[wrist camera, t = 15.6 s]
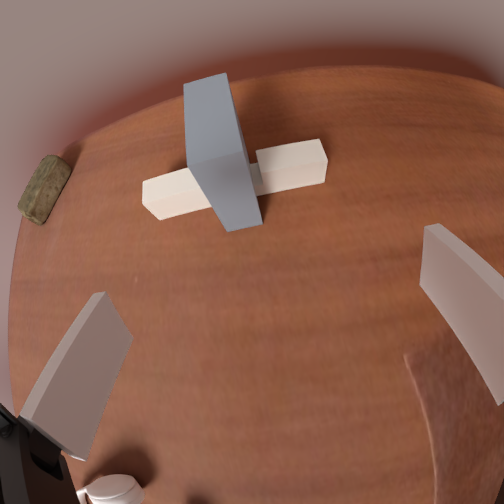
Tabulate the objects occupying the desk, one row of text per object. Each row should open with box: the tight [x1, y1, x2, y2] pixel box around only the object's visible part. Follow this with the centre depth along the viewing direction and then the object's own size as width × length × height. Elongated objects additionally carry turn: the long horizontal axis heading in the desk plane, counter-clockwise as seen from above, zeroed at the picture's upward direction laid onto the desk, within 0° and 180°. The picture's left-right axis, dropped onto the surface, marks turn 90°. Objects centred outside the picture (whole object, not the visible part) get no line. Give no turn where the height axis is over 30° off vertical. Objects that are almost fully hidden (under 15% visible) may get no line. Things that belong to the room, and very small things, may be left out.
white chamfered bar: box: [142, 139, 328, 220], centre depth 30 cm, size 20×3×4 cm, turn 101°
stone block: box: [18, 155, 71, 226], centre depth 35 cm, size 6×12×5 cm, turn 159°
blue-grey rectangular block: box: [184, 73, 263, 232], centre depth 26 cm, size 10×4×13 cm, turn 11°
